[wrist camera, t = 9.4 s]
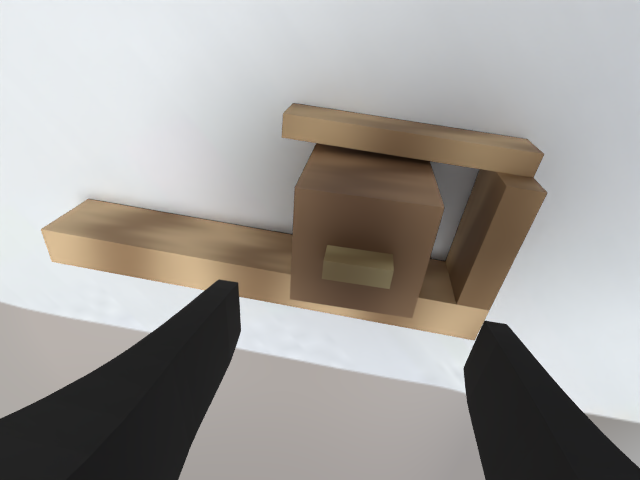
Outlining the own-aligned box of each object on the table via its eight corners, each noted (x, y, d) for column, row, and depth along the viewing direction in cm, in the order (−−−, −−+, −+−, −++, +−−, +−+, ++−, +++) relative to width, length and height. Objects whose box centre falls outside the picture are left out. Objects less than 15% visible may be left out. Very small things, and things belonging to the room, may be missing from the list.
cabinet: (426, 149, 17) (449, 221, 11) (404, 240, 20) (414, 336, 14) (320, 136, 17) (288, 200, 12) (312, 227, 20) (284, 316, 14)
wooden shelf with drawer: (527, 139, 16) (559, 167, 13) (461, 294, 21) (474, 340, 18) (54, 66, 17) (-12, 77, 14) (95, 228, 22) (51, 261, 19)
